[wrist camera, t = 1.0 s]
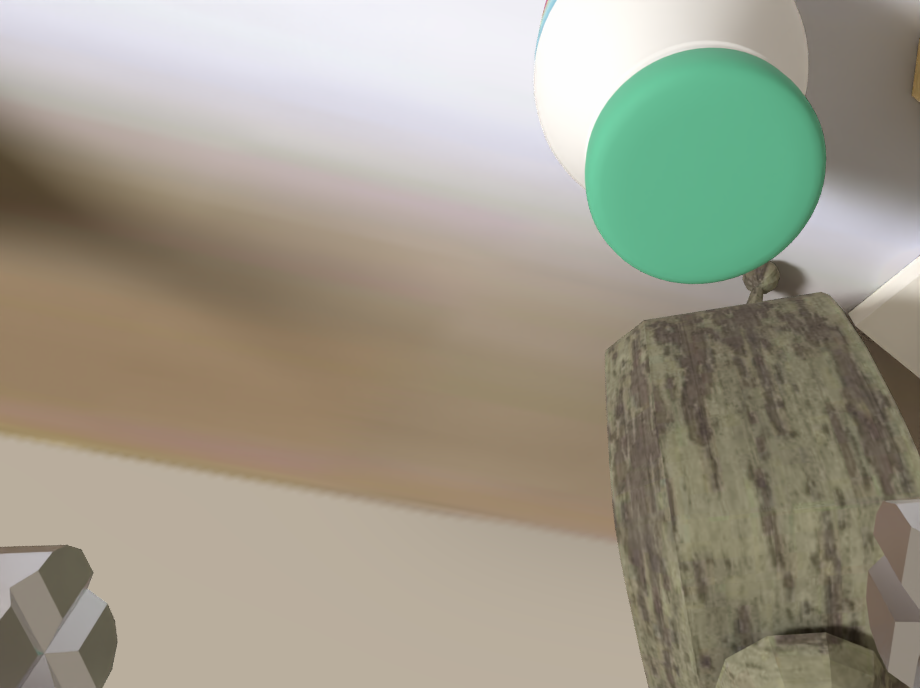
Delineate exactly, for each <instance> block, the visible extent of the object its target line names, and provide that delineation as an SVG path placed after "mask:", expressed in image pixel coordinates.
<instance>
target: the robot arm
mask: <svg viewBox="0 0 920 688" xmlns="http://www.w3.org/2000/svg"><path fill="white" fill-rule="evenodd" d="M873 535H874V537H875V539H876V540H877V542H878V544H879V546H880V548H881V549H882V551H883V553H884V556H883V557H882V558H881V559H880V560H879V561H878V562H877V563H876V564H875V565H873V566H872V567H871V568H870V569H869V570H868V579H867V590H866V602H867V610H868V617H869V625H870V629H871V632H872V635H873V638H874V641H875V644H876V647H877V650H878V652H879V654H880V656H881V658H882V660H883V662H884V665H885V667H886V669H887V671H888V672H889V673H890V674H892V675H893V676H895V677H896V678H897V679H899V680H900V681H902V682H903V683H904V684H906V685H907V686H909V687H910V688H920V499H908V500H891V501H883V502H882V504H881V506H880V508H879V509H878V511H877V513H876V519H875V526H874V532H873ZM92 575H93V571H92V569H91V567H90V565H89V563H88V561H87V559H86V557H85V555H84V554H83V552H82V550H81V549H78V548H75V547H72V546H68V545H51V546H50V545H49V546H14V547H0V688H102V687H103V685H104V683H105V682H106V680H107V678H108V676H109V674H110V672H111V670H112V667H113V662H114V657H115V652H116V647H117V634H116V626H115V620H114V618H113V615H112V613H111V611H110V609H109V606H108V604H107V603H106V602H105V601H103V600H102V599H101V598H99V597H98V596H96V595H95V594H94V593H92V592H91V591H90V590H88V589H87V588H88V586H89V583H90V580H91V578H92Z"/></svg>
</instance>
